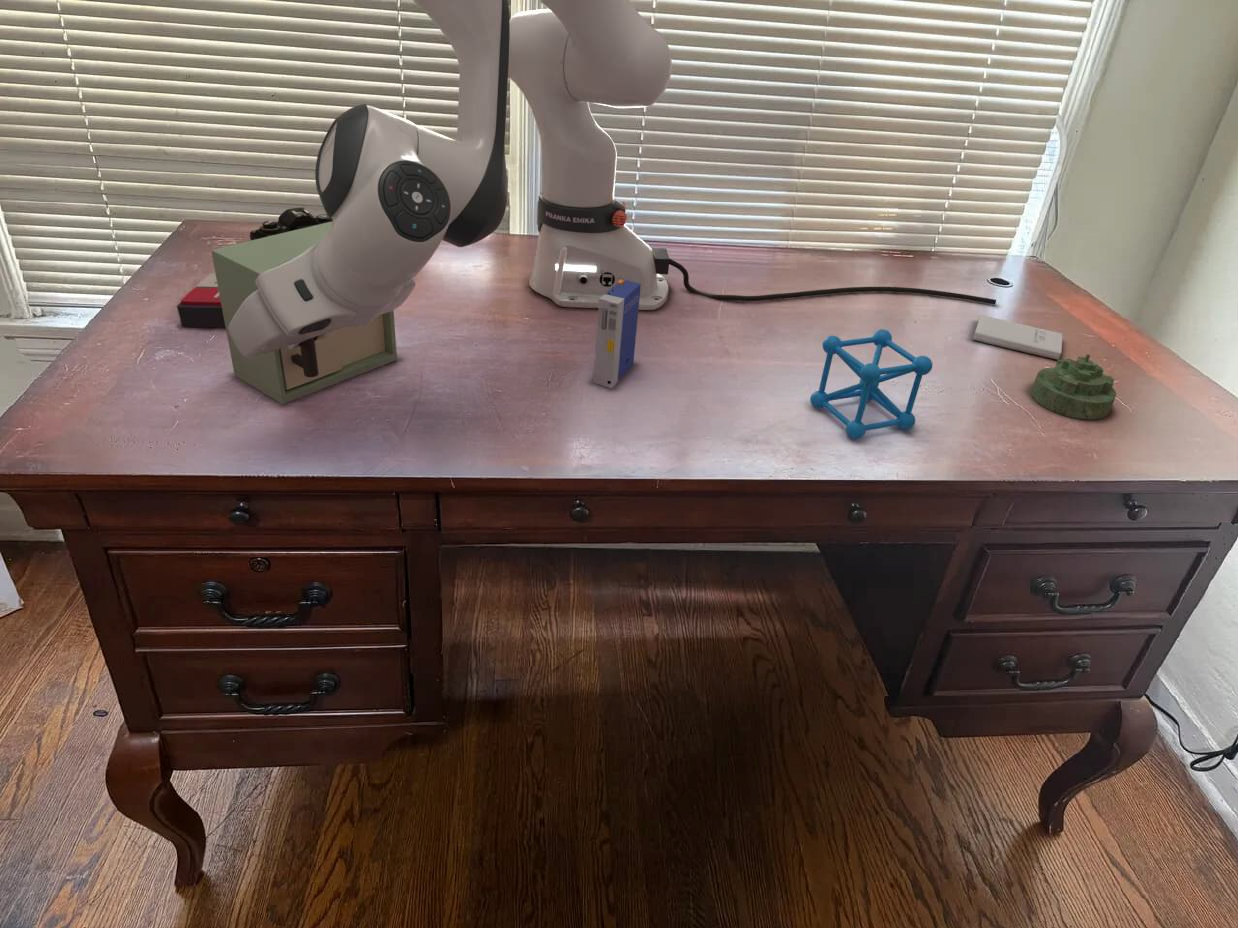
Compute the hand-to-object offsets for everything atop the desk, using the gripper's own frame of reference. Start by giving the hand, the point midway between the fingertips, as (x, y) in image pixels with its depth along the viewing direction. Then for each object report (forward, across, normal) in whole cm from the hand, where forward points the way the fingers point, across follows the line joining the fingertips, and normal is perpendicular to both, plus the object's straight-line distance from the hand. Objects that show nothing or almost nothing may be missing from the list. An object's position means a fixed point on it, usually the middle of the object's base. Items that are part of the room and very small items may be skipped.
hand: (303, 338), depth 98 cm
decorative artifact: (-42, -72, +55) cm, 100 cm away
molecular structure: (-29, -46, +41) cm, 68 cm away
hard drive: (-34, -87, +46) cm, 104 cm away
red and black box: (+25, -9, -13) cm, 29 cm away
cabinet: (+11, -6, +1) cm, 12 cm away
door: (+6, -2, +5) cm, 8 cm away
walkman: (-8, -32, +20) cm, 39 cm away
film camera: (+32, -24, -19) cm, 44 cm away
